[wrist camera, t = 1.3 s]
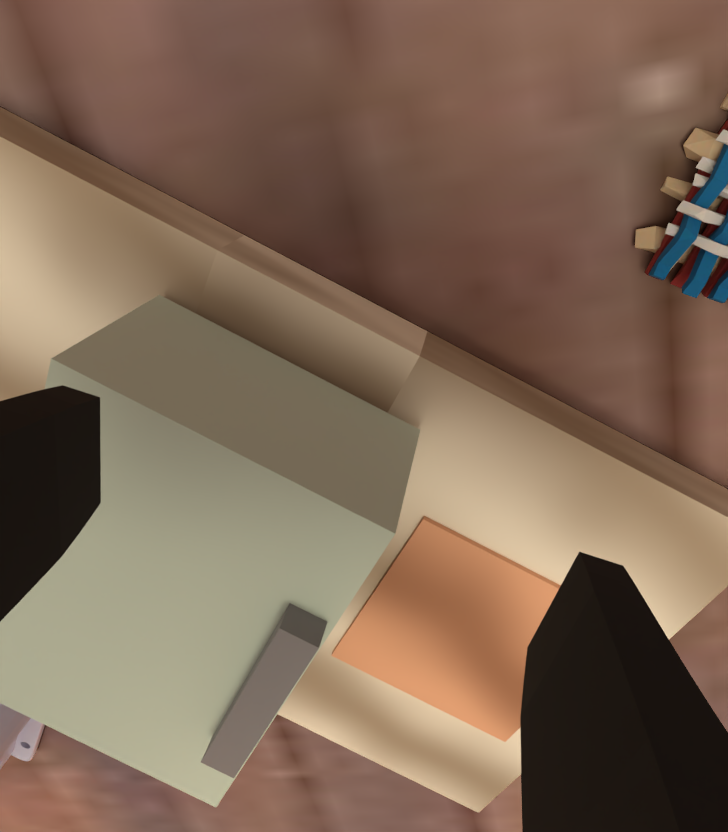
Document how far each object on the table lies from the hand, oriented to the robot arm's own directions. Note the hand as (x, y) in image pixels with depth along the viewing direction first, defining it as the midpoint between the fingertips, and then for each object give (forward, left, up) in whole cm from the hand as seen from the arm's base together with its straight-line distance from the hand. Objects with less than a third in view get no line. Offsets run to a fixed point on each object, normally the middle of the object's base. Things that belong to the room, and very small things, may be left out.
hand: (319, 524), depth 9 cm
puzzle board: (-8, +1, -10) cm, 13 cm away
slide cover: (-8, +2, -8) cm, 12 cm away
